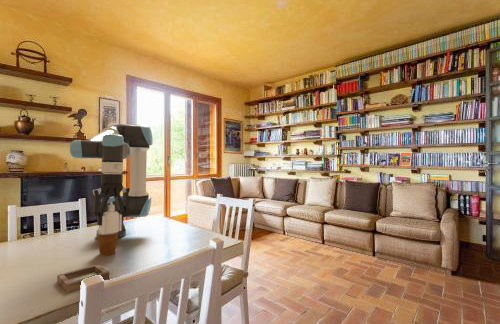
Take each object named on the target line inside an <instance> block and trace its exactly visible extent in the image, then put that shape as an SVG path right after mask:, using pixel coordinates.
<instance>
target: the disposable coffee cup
mask: <svg viewBox="0 0 500 324" xmlns="http://www.w3.org/2000/svg"><path fill="white" fill-rule="evenodd" d="M99 229H100V227H99V226H98V227H97V230H96V233H97V234H98V238H97V242H98V247H99V255H100V256H111V255H113V254H115V253H116V249H117V244H118V243H117V242H118V238H117V237H118V232H119V231H118V232H115V233H107V234H100V233H99Z"/></svg>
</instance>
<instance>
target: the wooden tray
mask: <svg viewBox="0 0 500 324" xmlns="http://www.w3.org/2000/svg"><path fill="white" fill-rule="evenodd" d="M110 273H111V272H110V270H107V269H106V268H104V267H103V266H101V265H99V264H98V263H96V264H93V265H89V266H86V267H85V266H84V267H81V268H78V269H74V270H71V271H67V272H64V273H59V274H58V275H57V276H56V277H57V279H56V283H58V284H59V286H60V287H61V288H62V289H63V290H64V291H65V292H66V293H70V292H73V291H76V290H80V289H81V288H80V285H81V281H82V280H83V279H85V278H89V277H92V276H95V275H101V276H102V277H103V279H104V281H107V280H110Z"/></svg>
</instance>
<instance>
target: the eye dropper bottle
mask: <svg viewBox="0 0 500 324" xmlns="http://www.w3.org/2000/svg"><path fill="white" fill-rule="evenodd" d="M114 210H115V205H113V203H112V202H110V205H108V211H107V212H105V213H104V214H103V216H104V217H105V234H107V233H115V232H118V231H119V213H118V212H117V211H114Z"/></svg>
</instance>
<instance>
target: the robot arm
mask: <svg viewBox="0 0 500 324" xmlns="http://www.w3.org/2000/svg"><path fill="white" fill-rule="evenodd" d="M150 146H153V133H152V129H151V127H150V126H149V125H146V124H145V125H144V124H130V123H129V124H128V123H127V124H126V123H119V124H113V125H110V126H107V127H105V128H103V129H102V130H101V131H100V132H99V133H97V134H94V135H92V136H91V137H89V138H86V139H85V140H84V139H83V140H81V139H75V140H72V141H71V142H70V144H69V153H70V155H71V157H73V158H77V159H101V171H100V172H101V173H102V174H101V175H100V184H101V185H100V187H99V188H97V189H92V190H91V193H92V207H91V208H92V210H91V216H93V217H96V220H97V221H96V222H97V223H96V224H97V226H98V228H99V227H100V229H99V233H100V234H105V217H104V216H103V214H104V213H105V212H107V211H108V205H110V202H112V203H113V205H115V210H114V211H117V212H118V213H119V232H118V237H117V239H119V238H122V237H125V236H127V230H126V226H125V223H124V221H125V220H124V219H125V218H141V217H142V218H144V217H145V218H146V217H148V216H149V214H150V210H151V206H152V197H151V196H150V195H149V193H148V192H147V157H148V155H147V152H148V150H149V149H150V148H151V147H150ZM129 156H130V166H129V167H130V169H129V170H130V177H129V180H130V181H129V186H130V187H125V186H124V185H123V182H124V181H123V179H124V175H123V172H124V160H126V159H127V158H129ZM101 193H102V196H101V199H100V195H101ZM121 193H122V194H121ZM99 204H100V205H99ZM95 235H96V236H95V238H96V239H98V234H97V232H96V233H95Z"/></svg>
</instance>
